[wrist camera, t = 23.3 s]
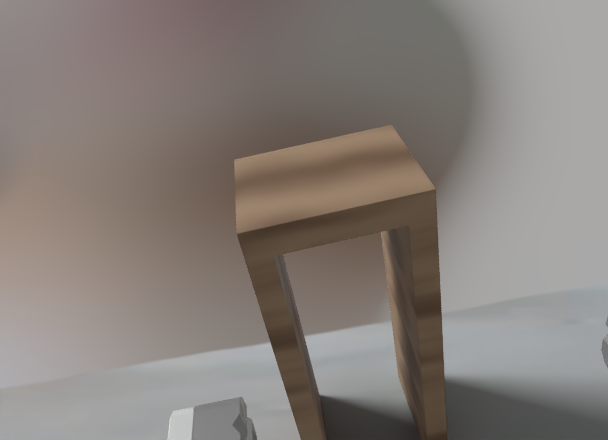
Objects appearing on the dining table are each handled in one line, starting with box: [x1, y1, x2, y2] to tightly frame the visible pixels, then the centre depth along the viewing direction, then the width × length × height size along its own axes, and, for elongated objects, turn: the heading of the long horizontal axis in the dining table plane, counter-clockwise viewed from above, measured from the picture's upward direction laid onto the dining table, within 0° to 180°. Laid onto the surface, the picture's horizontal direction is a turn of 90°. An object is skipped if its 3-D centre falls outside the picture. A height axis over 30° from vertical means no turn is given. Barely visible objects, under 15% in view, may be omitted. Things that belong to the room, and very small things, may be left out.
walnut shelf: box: [234, 125, 447, 440], centre depth 39 cm, size 9×11×26 cm
